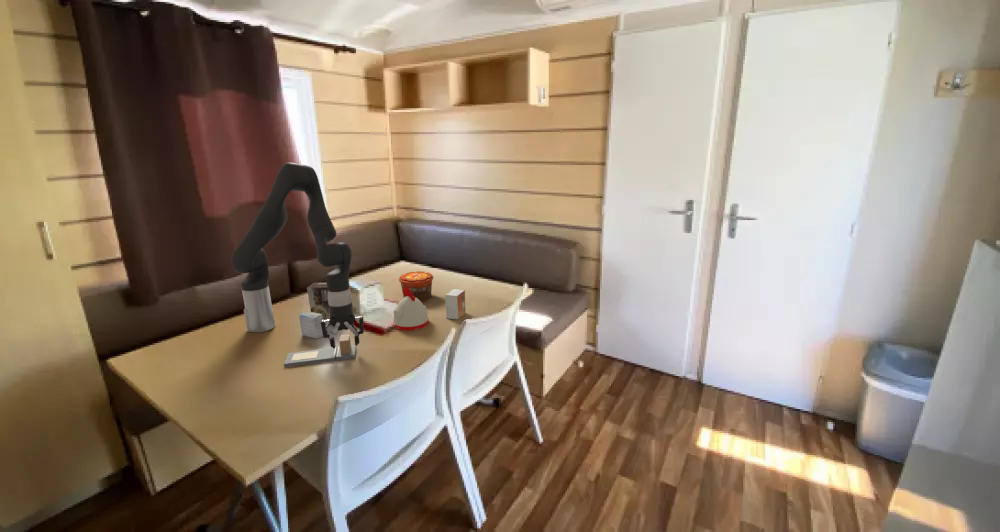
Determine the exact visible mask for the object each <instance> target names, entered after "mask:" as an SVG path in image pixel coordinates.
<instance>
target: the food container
mask: <svg viewBox="0 0 1000 532" xmlns="http://www.w3.org/2000/svg"><path fill="white" fill-rule="evenodd" d="M433 279H434V275H433V274H431V272H428V271H427V272H425V271H418V270H417V271H409V272H406V273H405V274H404V273H403V274H401V275H400V277H399V278H398V281H399V282H400V286H401V290H404V288H406V289H408V288H409V289H411V293H413V296H414V297H415V296H416V298H417V299H419V300H420V301H421V302H424V301H427V300H429V299H430V298H432V287H433ZM402 296H403V298H404V295H403V294H402Z"/></svg>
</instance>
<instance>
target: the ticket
mask: <svg viewBox="0 0 1000 532" xmlns="http://www.w3.org/2000/svg"><path fill="white" fill-rule="evenodd" d="M337 349H338V346H337V347H336V346H335V348H334V349H333V347H327V348H320V349H318V348H317V349H313V350H312V349H310V350H303V351H297V352H296V351H294V352H288V354H287V356H286V358H285V359H284V360H285V361H284V362H283V367H284V368H289V367H295V366H304V365H313V364H319V363H320V364H321V363H328V362H335V361H337V360H336V354H337Z"/></svg>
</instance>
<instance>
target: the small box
mask: <svg viewBox="0 0 1000 532" xmlns="http://www.w3.org/2000/svg"><path fill="white" fill-rule="evenodd" d="M444 297H445V317H446V319H453V320H459V319H460V318H461V317H463V316H464V315H465V314H466V290H464V289H457V288H456V289H454V288H453V289H452V290H451V291H448V293H446V294H445V295H444Z"/></svg>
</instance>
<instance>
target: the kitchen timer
mask: <svg viewBox="0 0 1000 532" xmlns="http://www.w3.org/2000/svg"><path fill="white" fill-rule="evenodd" d="M401 290H402V289H401ZM403 295H404V297H403V298H401V300H400V301H399V302H398V304H397V305H396V308H395V309H394V310H393V321H394V322H393V324H394V323H395V324H396V328H397V329H396V328H395V329H396V330H400V331H416V330H420V329H424V328H425V327H427V326H428V324H429V315H428V313H427V306H426V305H424V304H423V303H422V301H420V300H419V299H417V298H416V296H415V297H414V296H413V293H411V289H409V288H408V289H406V288H404V290H402V296H403Z"/></svg>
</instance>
